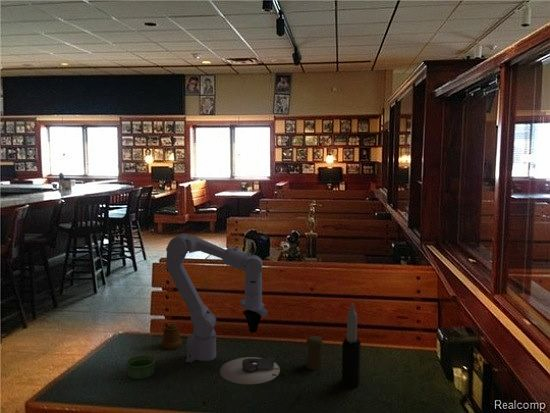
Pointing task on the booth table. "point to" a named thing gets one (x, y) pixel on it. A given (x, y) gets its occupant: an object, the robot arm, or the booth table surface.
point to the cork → (314, 354)
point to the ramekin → (141, 366)
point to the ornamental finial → (171, 337)
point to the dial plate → (247, 373)
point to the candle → (351, 352)
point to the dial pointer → (257, 364)
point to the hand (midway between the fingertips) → (253, 331)
